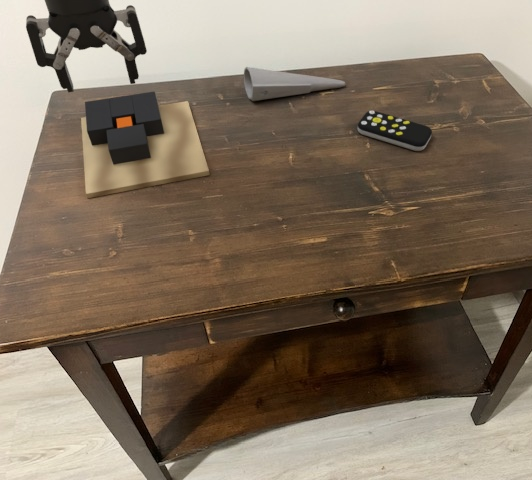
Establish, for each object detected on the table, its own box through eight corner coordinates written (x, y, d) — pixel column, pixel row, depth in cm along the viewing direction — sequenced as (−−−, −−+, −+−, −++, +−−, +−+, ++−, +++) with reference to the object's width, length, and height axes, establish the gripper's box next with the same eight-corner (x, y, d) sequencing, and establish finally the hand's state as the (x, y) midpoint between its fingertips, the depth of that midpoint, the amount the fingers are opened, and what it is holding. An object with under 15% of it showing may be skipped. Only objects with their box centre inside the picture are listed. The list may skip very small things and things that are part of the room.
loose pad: (113, 164, 86) (108, 150, 84) (109, 134, 92) (105, 120, 89) (151, 158, 88) (147, 143, 85) (145, 129, 93) (141, 114, 91)
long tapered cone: (337, 54, 106) (244, 60, 100) (349, 73, 103) (253, 81, 96) (332, 78, 111) (242, 85, 104) (343, 97, 107) (251, 106, 101)
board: (87, 198, 82) (85, 193, 81) (82, 122, 95) (80, 117, 95) (209, 175, 87) (208, 170, 86) (188, 105, 100) (187, 100, 99)
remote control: (422, 154, 92) (423, 145, 90) (354, 133, 95) (355, 124, 94) (432, 135, 96) (435, 126, 94) (367, 116, 99) (368, 106, 98)
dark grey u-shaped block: (92, 145, 89) (86, 131, 87) (89, 116, 95) (84, 101, 93) (164, 133, 92) (161, 119, 90) (157, 105, 98) (154, 91, 96)
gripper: (2, -16, 61) (49, 106, 73) (130, -27, 65) (155, 91, 76) (5, -39, 66) (49, 79, 78) (124, -49, 69) (149, 66, 81)
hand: (102, 85), depth 77 cm, fingers open, 8 cm apart
